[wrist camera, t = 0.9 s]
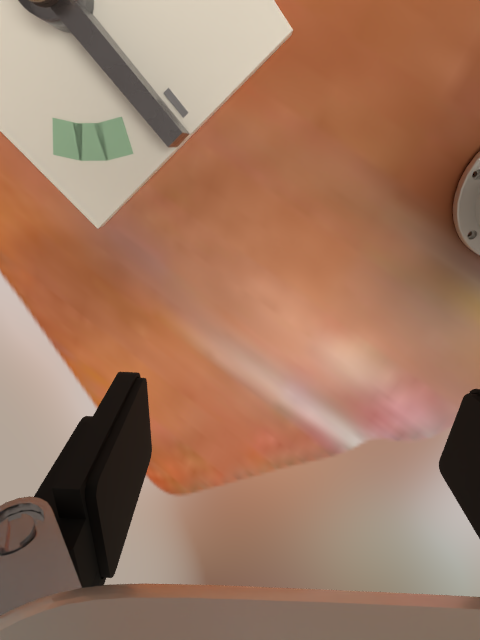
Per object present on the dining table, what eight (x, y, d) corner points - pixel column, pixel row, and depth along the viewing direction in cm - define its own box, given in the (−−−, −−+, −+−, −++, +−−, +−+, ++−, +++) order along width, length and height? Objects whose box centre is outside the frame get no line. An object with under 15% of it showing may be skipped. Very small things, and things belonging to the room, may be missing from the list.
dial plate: (82, -288, 23) (70, -318, 22) (291, 35, 30) (293, 29, 28) (-97, 22, 31) (-115, 16, 29) (103, 225, 37) (97, 229, 36)
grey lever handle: (24, -7, 28) (-26, -41, 23) (59, -58, 27) (13, -106, 21) (165, 158, 33) (149, 160, 27) (201, 121, 31) (191, 117, 26)
